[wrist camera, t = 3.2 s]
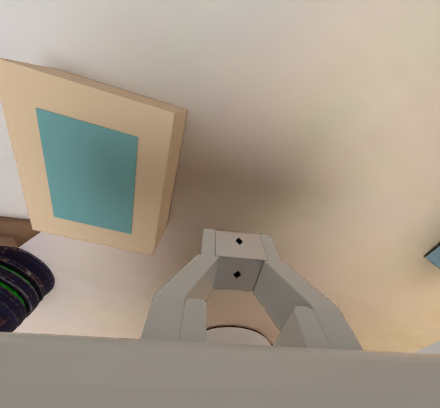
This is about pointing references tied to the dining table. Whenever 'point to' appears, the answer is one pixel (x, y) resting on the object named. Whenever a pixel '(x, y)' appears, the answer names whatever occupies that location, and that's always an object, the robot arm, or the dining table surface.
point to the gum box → (434, 257)
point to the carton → (91, 156)
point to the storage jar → (21, 286)
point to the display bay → (15, 231)
